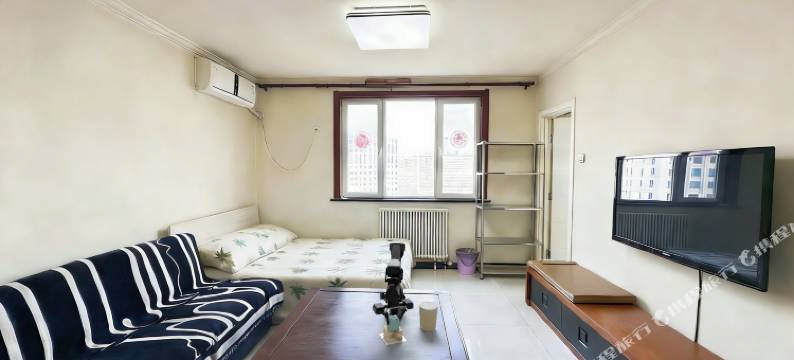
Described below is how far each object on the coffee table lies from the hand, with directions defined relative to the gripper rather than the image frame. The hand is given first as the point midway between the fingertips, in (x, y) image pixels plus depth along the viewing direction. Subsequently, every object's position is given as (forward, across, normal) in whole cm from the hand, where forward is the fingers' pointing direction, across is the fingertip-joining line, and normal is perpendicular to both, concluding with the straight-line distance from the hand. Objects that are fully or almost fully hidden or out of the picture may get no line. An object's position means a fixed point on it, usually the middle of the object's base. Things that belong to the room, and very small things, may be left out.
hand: (392, 324), depth 149 cm
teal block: (+2, 0, 0) cm, 2 cm away
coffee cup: (+8, -20, -3) cm, 22 cm away
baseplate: (+8, 0, 0) cm, 8 cm away
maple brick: (+6, 0, 0) cm, 6 cm away
